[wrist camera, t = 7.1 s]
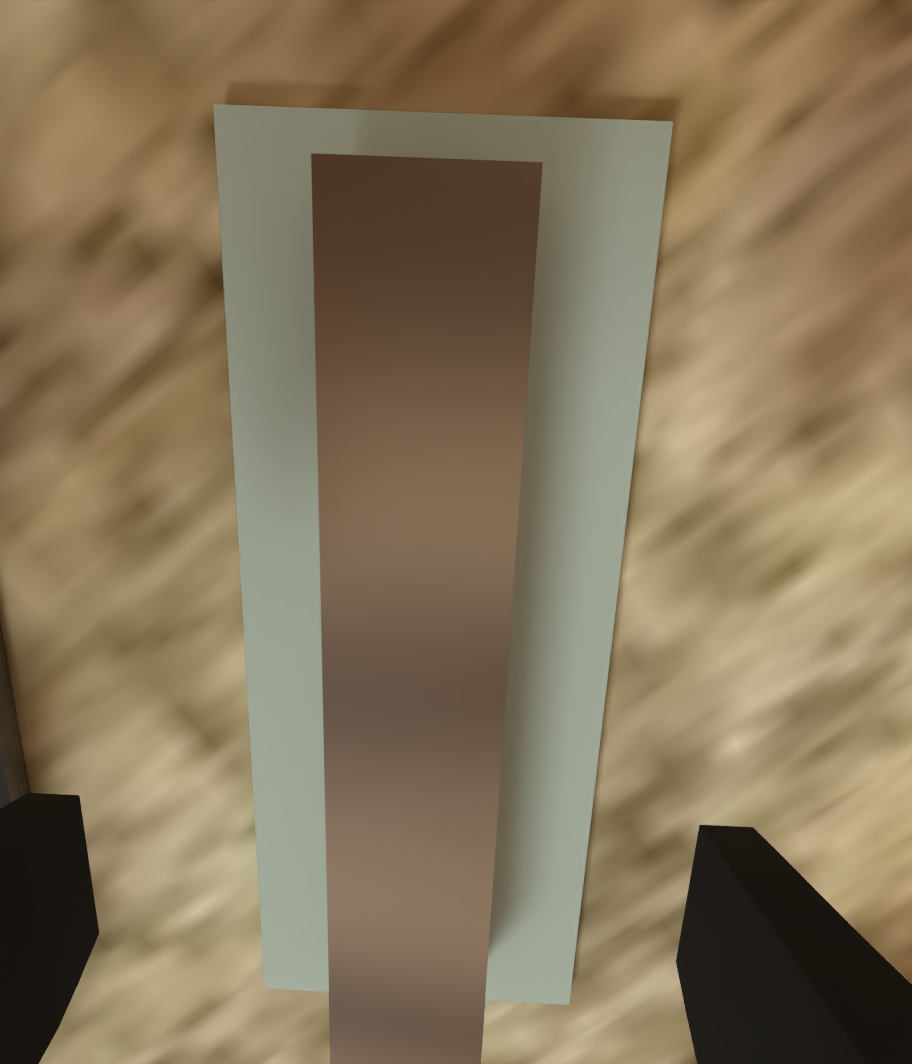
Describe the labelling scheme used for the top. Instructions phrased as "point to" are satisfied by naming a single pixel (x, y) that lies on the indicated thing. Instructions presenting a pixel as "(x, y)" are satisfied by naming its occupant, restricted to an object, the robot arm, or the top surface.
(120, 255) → the top surface
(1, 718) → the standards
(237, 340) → the mat
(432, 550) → the rail
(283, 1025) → the top surface
